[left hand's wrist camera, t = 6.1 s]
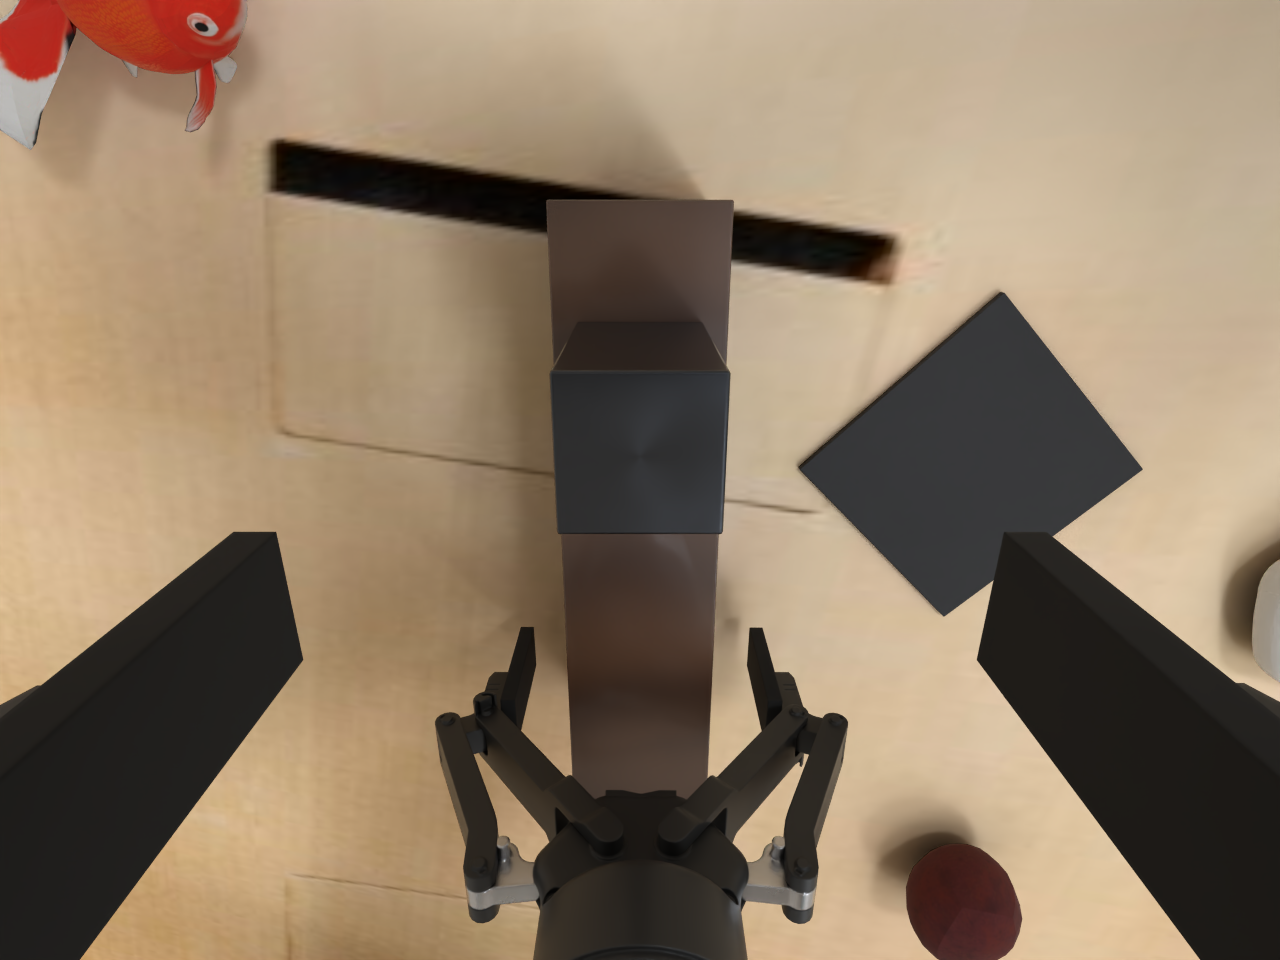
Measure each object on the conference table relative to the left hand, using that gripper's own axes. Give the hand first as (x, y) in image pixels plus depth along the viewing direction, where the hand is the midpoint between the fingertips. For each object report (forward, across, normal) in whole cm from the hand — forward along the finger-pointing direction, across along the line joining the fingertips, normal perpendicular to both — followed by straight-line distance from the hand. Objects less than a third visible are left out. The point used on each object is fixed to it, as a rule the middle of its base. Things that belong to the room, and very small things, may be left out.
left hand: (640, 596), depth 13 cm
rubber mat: (+27, +19, -7) cm, 34 cm away
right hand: (+24, 0, -18) cm, 30 cm away
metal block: (+17, 0, 0) cm, 17 cm away
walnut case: (+27, 0, -8) cm, 28 cm away
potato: (+27, +22, -38) cm, 52 cm away
